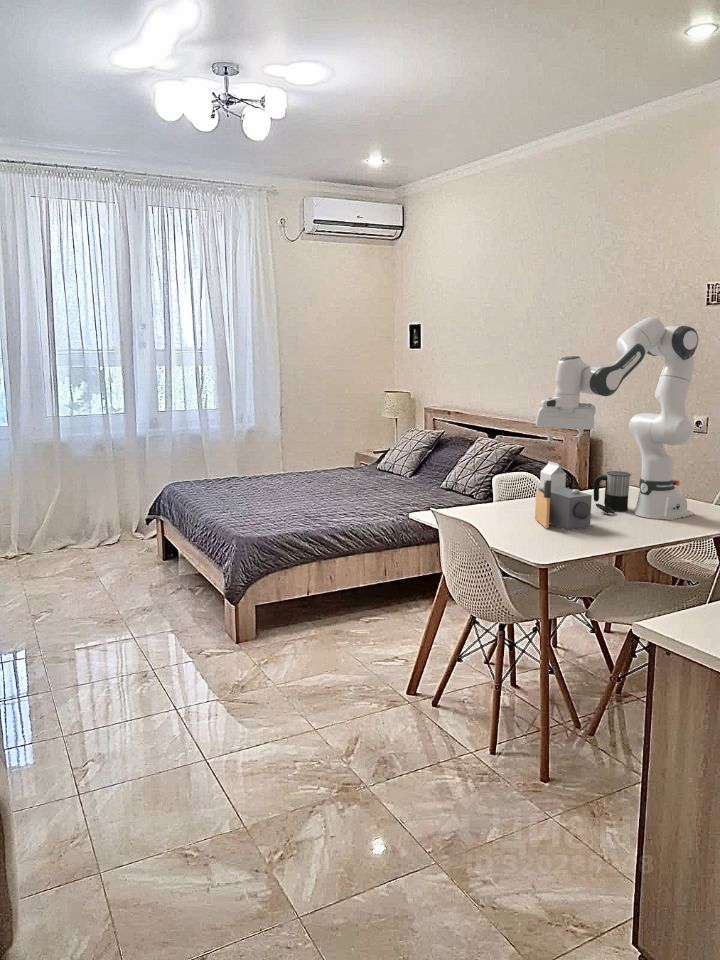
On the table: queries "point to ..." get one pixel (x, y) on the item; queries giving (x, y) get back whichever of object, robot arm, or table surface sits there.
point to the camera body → (569, 508)
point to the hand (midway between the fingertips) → (563, 441)
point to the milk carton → (553, 475)
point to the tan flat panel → (543, 504)
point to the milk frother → (613, 491)
